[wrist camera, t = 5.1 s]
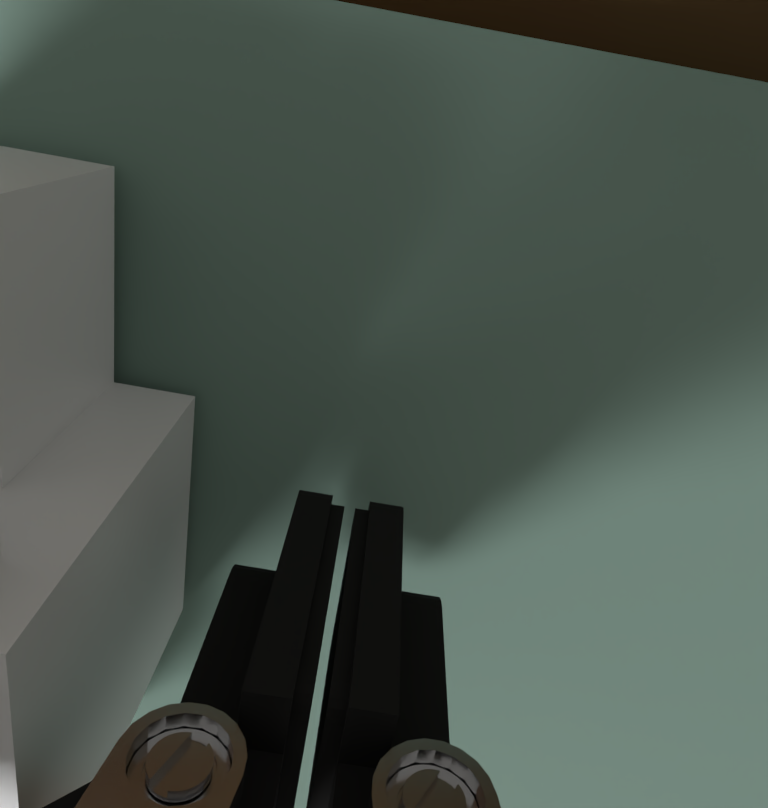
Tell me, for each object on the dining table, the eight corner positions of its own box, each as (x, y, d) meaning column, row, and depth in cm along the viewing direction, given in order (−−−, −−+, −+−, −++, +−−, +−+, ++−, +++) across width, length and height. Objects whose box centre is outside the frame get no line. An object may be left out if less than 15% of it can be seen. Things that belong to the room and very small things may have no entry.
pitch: (1113, 155, 10) (1182, 161, 9) (713, 840, 17) (730, 882, 16) (-563, -163, 9) (-669, -191, 8) (-284, 684, 16) (-326, 720, 15)
